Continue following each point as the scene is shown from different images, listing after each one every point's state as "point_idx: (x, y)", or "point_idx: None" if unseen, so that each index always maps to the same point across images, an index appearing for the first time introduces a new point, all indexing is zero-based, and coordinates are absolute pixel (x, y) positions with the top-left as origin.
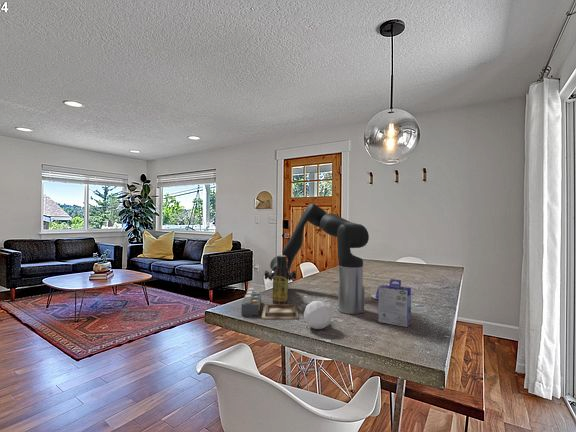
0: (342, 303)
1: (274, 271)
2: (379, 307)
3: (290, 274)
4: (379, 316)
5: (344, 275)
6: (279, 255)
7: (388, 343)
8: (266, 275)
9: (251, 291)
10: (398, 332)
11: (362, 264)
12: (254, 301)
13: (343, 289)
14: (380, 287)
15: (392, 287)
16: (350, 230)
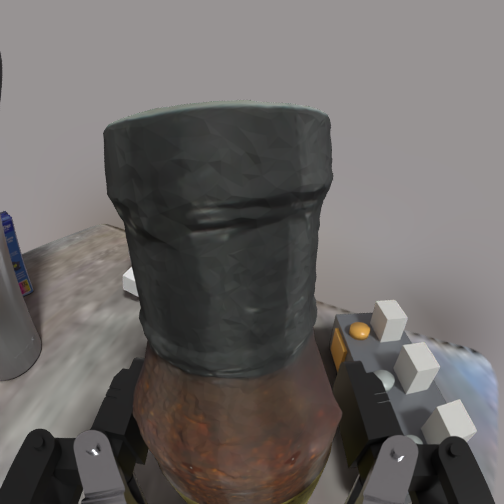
0: (30, 320)
1: (340, 410)
2: (23, 261)
3: (103, 437)
4: (29, 279)
5: (1, 223)
6: (273, 106)
7: (95, 247)
8: (428, 450)
9: (419, 366)
10: (50, 265)
11: None
12: (358, 322)
13: (14, 274)
14: (11, 218)
15: (3, 215)
16: None
